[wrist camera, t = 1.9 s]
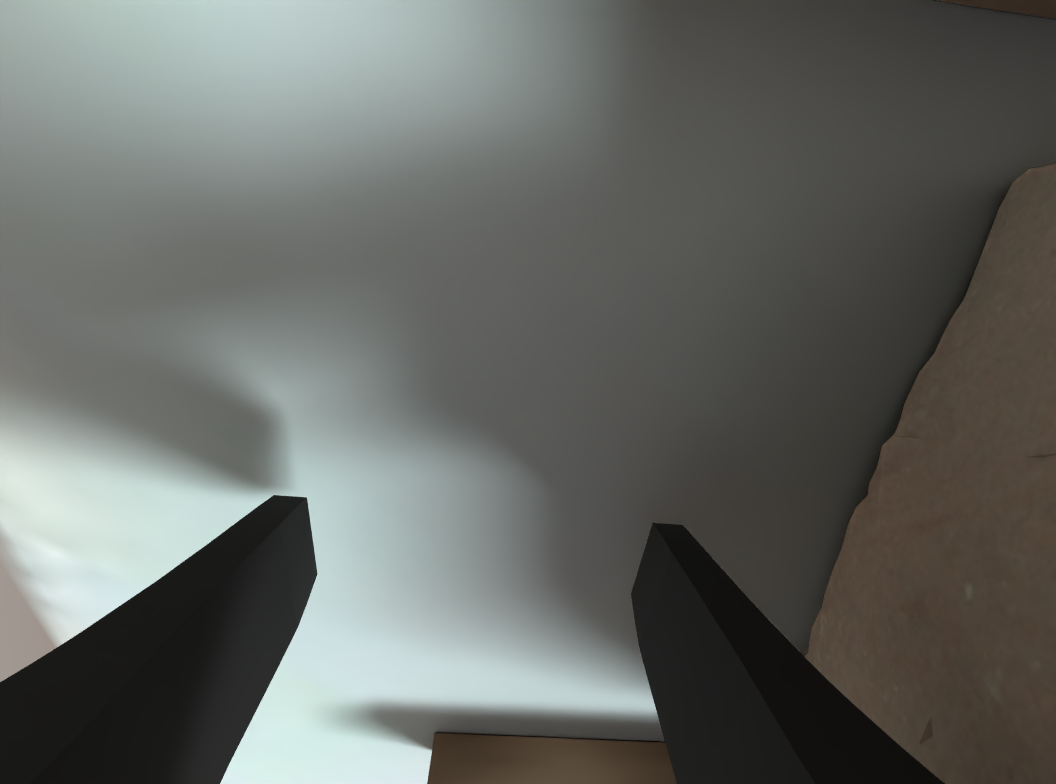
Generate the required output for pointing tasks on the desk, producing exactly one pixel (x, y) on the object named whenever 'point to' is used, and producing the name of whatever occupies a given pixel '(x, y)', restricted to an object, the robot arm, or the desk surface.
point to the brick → (965, 530)
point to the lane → (580, 764)
